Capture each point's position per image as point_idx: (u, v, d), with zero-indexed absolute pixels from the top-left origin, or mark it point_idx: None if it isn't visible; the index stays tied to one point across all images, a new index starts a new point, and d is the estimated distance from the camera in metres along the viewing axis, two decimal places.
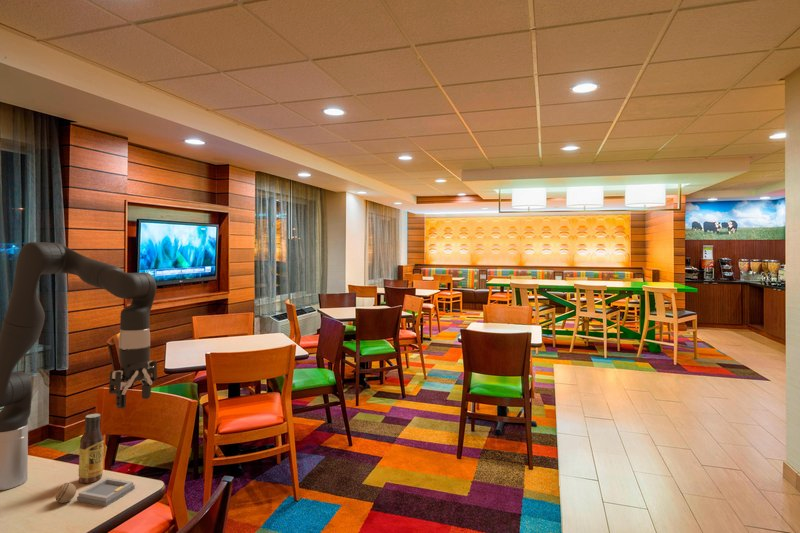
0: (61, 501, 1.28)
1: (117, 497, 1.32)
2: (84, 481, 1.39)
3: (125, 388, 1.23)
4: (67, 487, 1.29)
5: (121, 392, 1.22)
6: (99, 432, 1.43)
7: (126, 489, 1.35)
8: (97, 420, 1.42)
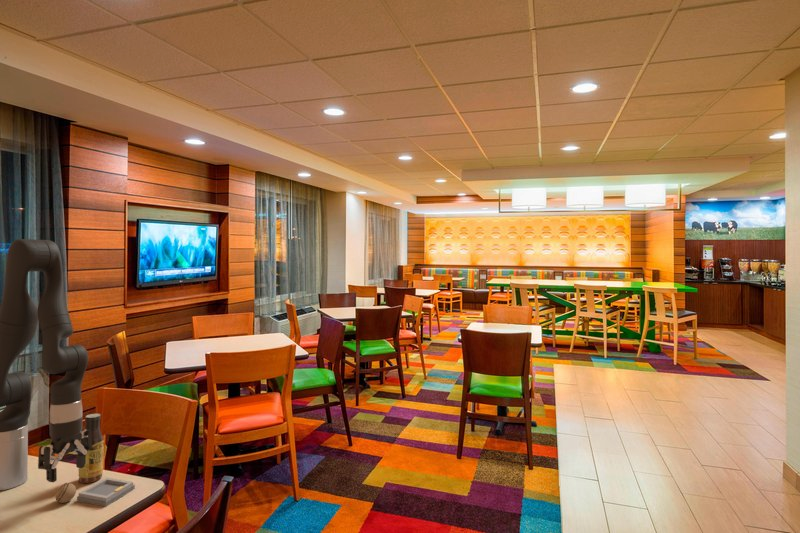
0: (61, 501, 1.28)
1: (117, 497, 1.32)
2: (84, 481, 1.39)
3: (55, 462, 1.25)
4: (67, 487, 1.29)
5: (51, 466, 1.24)
6: (99, 432, 1.43)
7: (126, 489, 1.35)
8: (97, 420, 1.42)
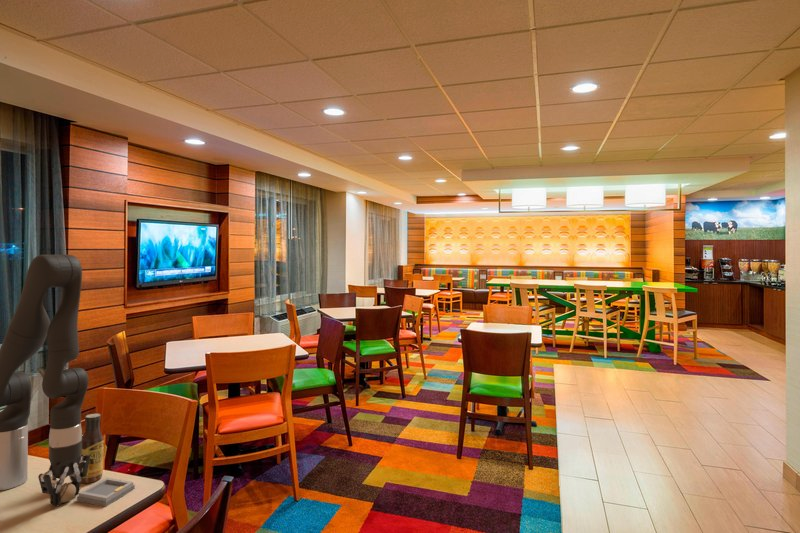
0: (61, 501, 1.28)
1: (117, 497, 1.32)
2: (84, 481, 1.39)
3: (58, 486, 1.27)
4: (67, 486, 1.29)
5: (55, 491, 1.26)
6: (99, 432, 1.43)
7: (126, 489, 1.35)
8: (97, 420, 1.42)
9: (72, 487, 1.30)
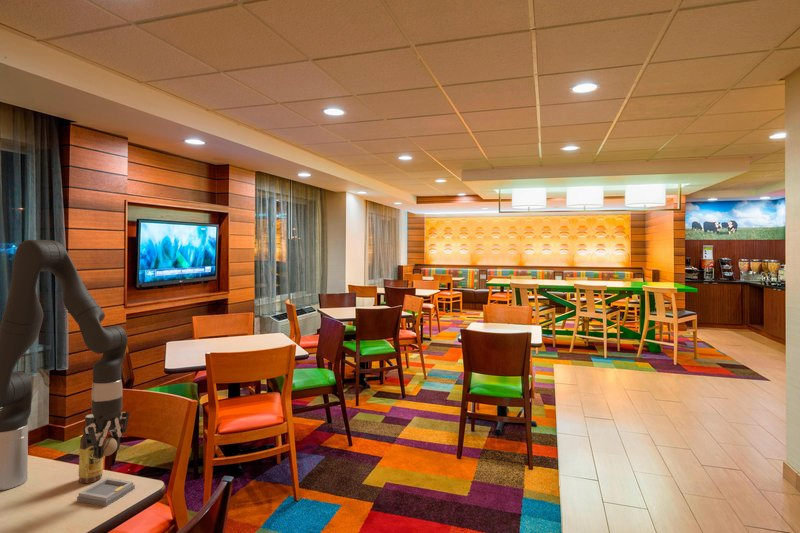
0: (104, 454, 1.32)
1: (117, 497, 1.32)
2: (84, 481, 1.39)
3: (101, 439, 1.30)
4: (109, 440, 1.33)
5: (98, 443, 1.30)
6: (99, 432, 1.43)
7: (126, 489, 1.35)
8: None
9: (114, 441, 1.34)
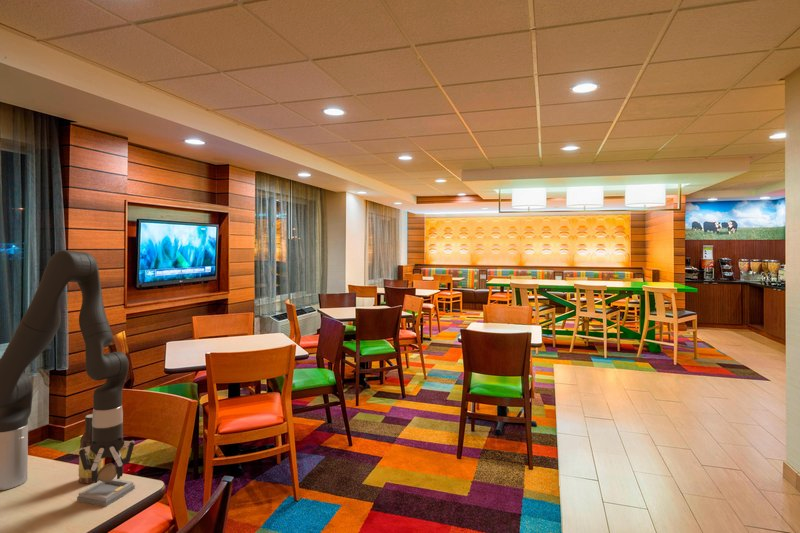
0: None
1: (117, 497, 1.32)
2: (84, 481, 1.39)
3: (94, 464, 1.31)
4: (105, 467, 1.33)
5: (91, 468, 1.31)
6: None
7: (126, 489, 1.35)
8: None
9: (108, 470, 1.32)
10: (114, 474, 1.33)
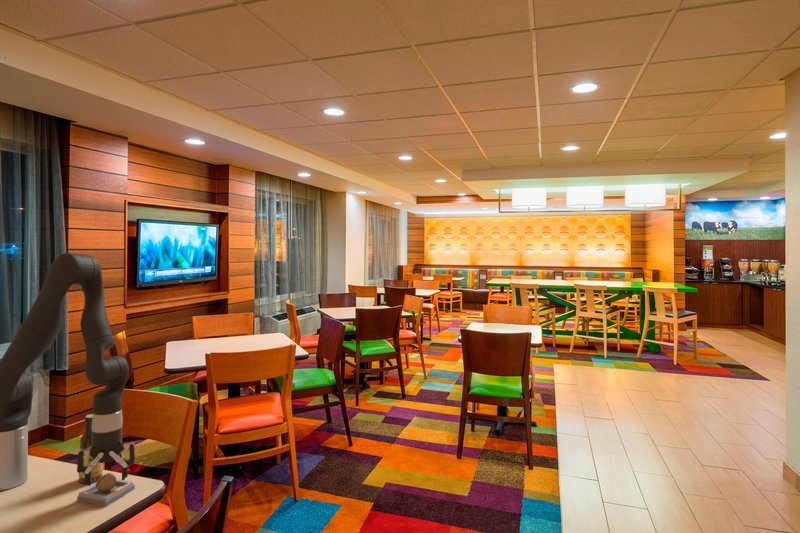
0: (98, 489, 1.32)
1: (117, 497, 1.32)
2: (84, 481, 1.39)
3: (89, 467, 1.31)
4: (104, 477, 1.33)
5: (85, 471, 1.31)
6: None
7: (126, 489, 1.35)
8: None
9: (107, 480, 1.32)
10: (113, 484, 1.33)
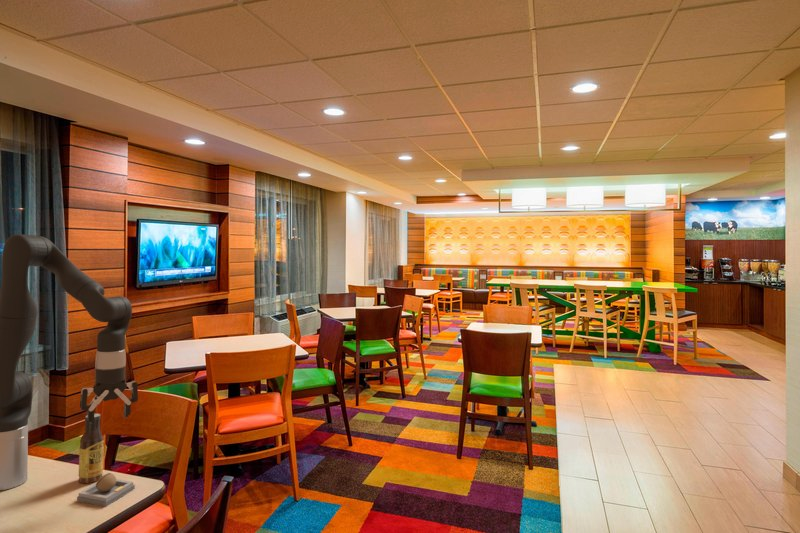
0: (98, 489, 1.32)
1: (117, 497, 1.32)
2: (84, 481, 1.39)
3: (93, 405, 1.31)
4: (104, 477, 1.33)
5: (88, 408, 1.31)
6: (99, 432, 1.43)
7: (126, 489, 1.35)
8: (97, 420, 1.42)
9: (107, 480, 1.32)
10: (113, 484, 1.33)
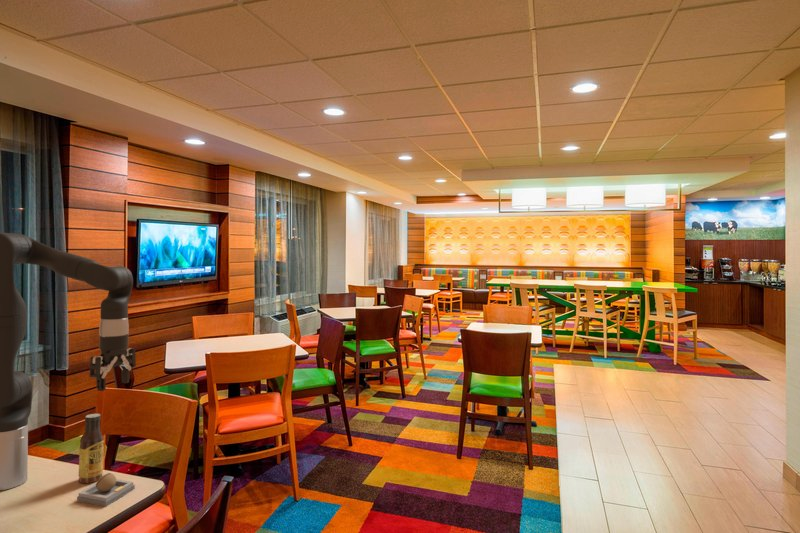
0: (98, 489, 1.32)
1: (117, 497, 1.32)
2: (84, 481, 1.39)
3: (105, 372, 1.34)
4: (104, 477, 1.33)
5: (101, 376, 1.33)
6: (99, 432, 1.43)
7: (126, 489, 1.35)
8: (97, 420, 1.42)
9: (107, 480, 1.32)
10: (113, 484, 1.33)
